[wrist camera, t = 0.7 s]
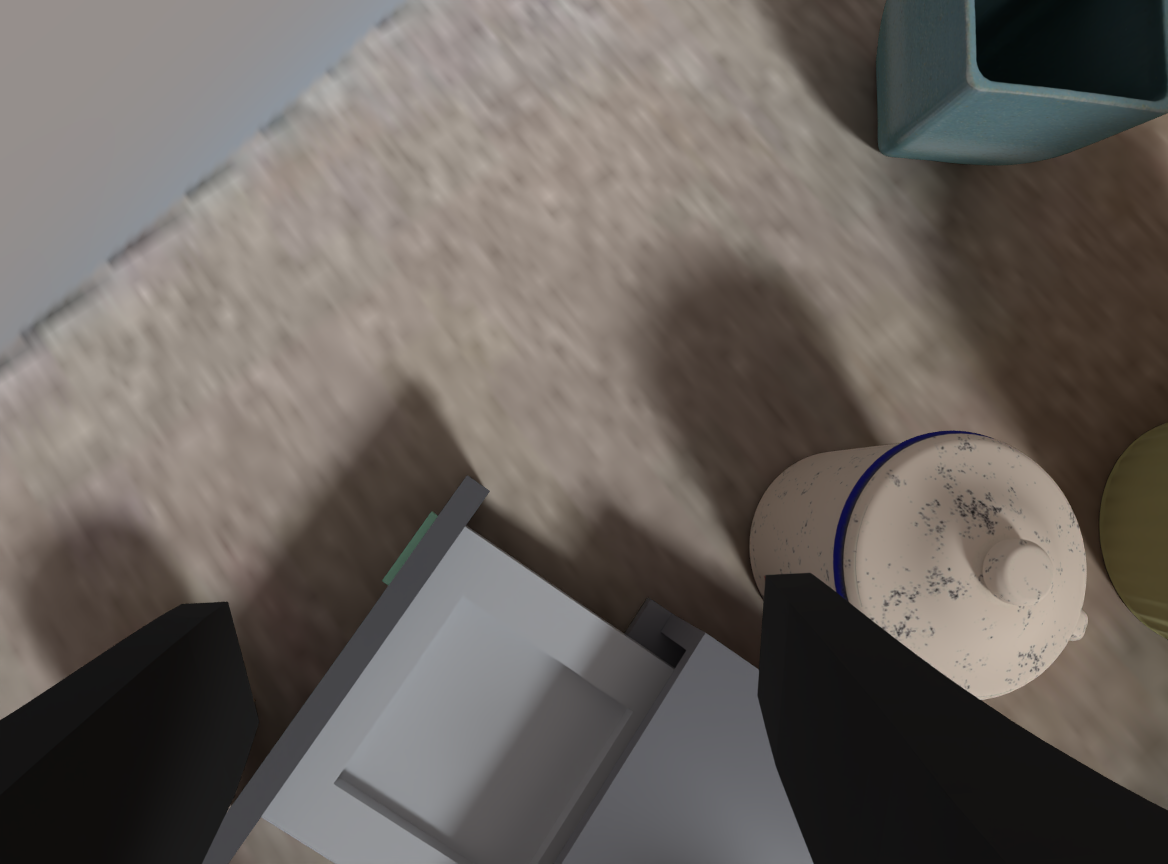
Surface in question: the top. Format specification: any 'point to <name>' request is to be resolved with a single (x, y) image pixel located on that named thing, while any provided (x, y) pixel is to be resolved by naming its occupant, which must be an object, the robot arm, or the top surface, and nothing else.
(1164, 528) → the potted cactus
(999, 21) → the flower pot
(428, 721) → the tray
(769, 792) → the grey drawer box
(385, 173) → the top surface
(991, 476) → the cream lidded canister
